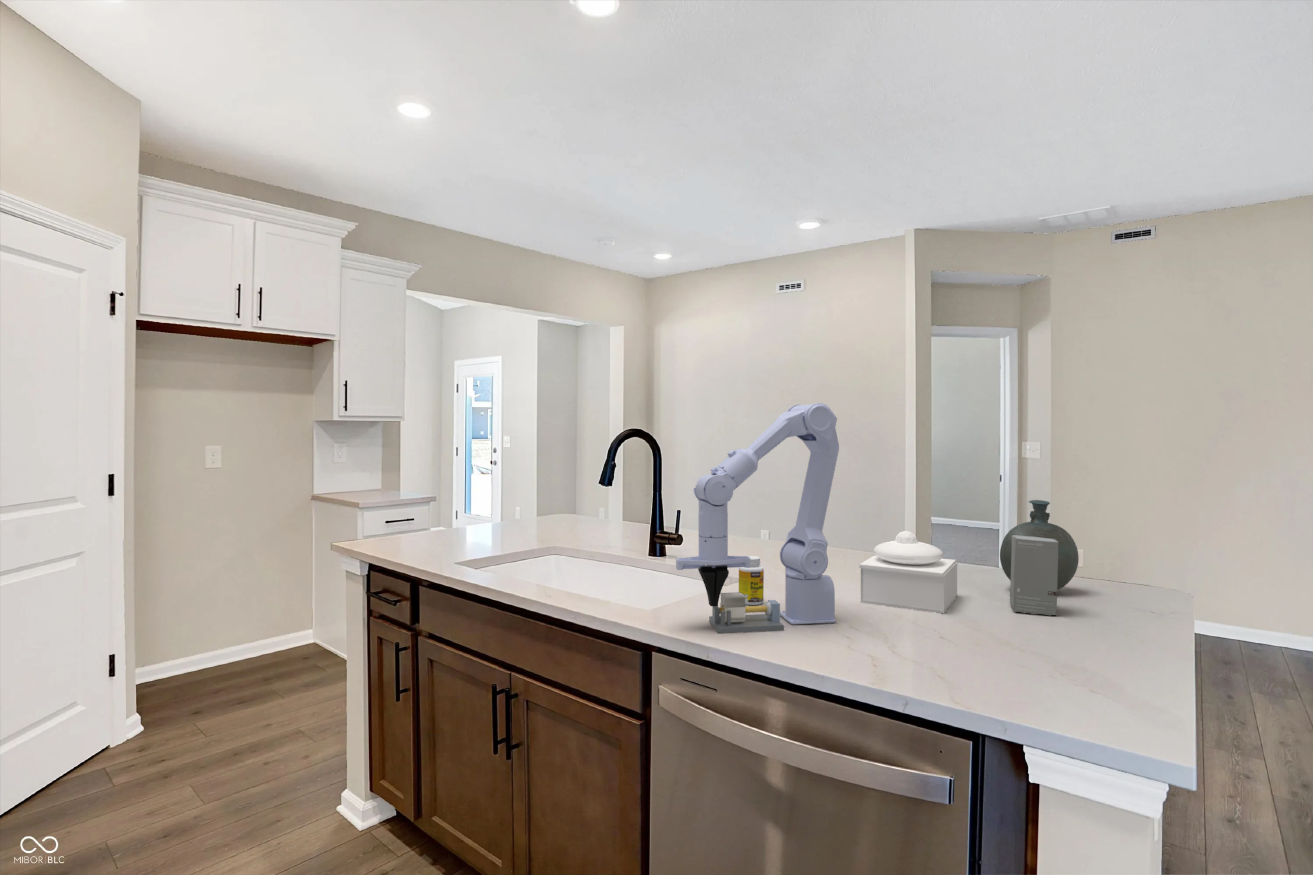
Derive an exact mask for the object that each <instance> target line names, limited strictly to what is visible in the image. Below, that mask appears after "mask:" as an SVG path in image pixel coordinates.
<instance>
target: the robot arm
mask: <svg viewBox="0 0 1313 875" xmlns="http://www.w3.org/2000/svg"><path fill="white" fill-rule="evenodd" d="M837 420H838V418H837V416H836V415H835V413H834V412H833V410H832V409H831V408H830V406H828V405H827V404H825V403H822V402H815V403H811V404H810V403H809V404H794V405H792V406H790V407H789V408H788V409H787V410H786V411H784V412H782V413H781V414H780V415H779V416H778V418H777V419H775V420H774V421H773V423H772V424H770V426H768V427H767V428H766V429H765V430H764V431H763V432H762V433H761V434H760V435H759V436H758V437H757V438H756V439H755V440H754V441H753V442H752V443H751V444H750V445H749V446H748V447H747V448H737V449H732V450H730V451H729V452H727V455H728V456H727V458H725V459H724V460H723V461H722V462H720V463H719V464H718V465H717V466H712V467H711V468H710V472H711V473H710V474H709V473H708V474H703V475H702V476H700V477H699V478H698V479H697V481H696V484H695V487H694V488H693V494H694V496H695V497H696V499H697V500H698V556H689V557H682V558H681V557H678V558H675V568H676V570H677V571H683V570H691V569H692V570H693V569H695V570H696V569H698V570H697V571H698V573H699V576H700V577H701V579H702V581H703V584H704V588H705V591H706V594H707V600H708V605H709V606H711V607H712V606H718V607H719V600H720V598H721V593H722V589H723V587H724V585H725V582H726V581H727V579H728V577H729V574H730V572H729V571H730V570H728V568H729V569H731V568H739V567H745V568H750V558H749V557H748V556H749V555H745V556H742V555H740V556H739V555H729V553H728V552H729V550H728V549H729V544H728V543H729V542H728V541H729V539H728V538H729V536H728V535H729V534H728V531H729V530H728V526H729V525H728V523H729V521H728V520H729V519H728V517H729V516H728V502H730V501H731V499H732V498H733V495H734V491H735V490H736V489H737V488H738V487H740V486H741V485H742V484H743V483H744V482H745V481H747V479H749V478H750V477H751V476H752V475H753V474H754V473H756V471H757V470H758V464H759V461H760V460H761V459H762V458H764V457H765V456H766V455H768V454H769V453H771V451H773V450H774V449H775V448H777V446H779V445H780V444H781V443H782V442H784V441H785V440H786V439H787V438H791V437H796V438H798V439H799V440H801V441H802V442H803V443H804V445H805V446H806V447H807V449H808V450H809V454H810V455H809V458H808V459H809V460H808V464H807V470H806V473H805V479H804V484H803V489H802V493H801V497H800V498H801V499H800V502H799V508H798V513H797V516H796V522H795V526H793V528H791V530H790V531H789V532H788V533H787V535H786V536H787V537H786V539H785V540H786V541H785V542H784V543H783V545H782V546H781V547H780V550H779V559H780V562H781V564H782V565H783V566H784V567H785V568H784V570H785V571H784V572H785V573H784V574H785V586H784V587H785V589H784V590H785V603H784V604H785V610H784V611H782V610H780V617H782V618H783V619H785V621H787V622H788V623H789V624H791V625H804V624H805V625H806V624H828V623H837V619H835V611H836V610H835V607H836V605H835V602H836V600H835V598H836V597H835V585H834V581H833V579H832V577H831V576H830V575H828V574H825V572H826V571H827V568H828V565H829V557H828V553H827V552H828V551H827V550H828V545H829V544H828V540H827V539H826V537H825V535H824V533H823V528H824V525H825V524H824V523H825V520H826V514H827V510H828V506H829V501H830V500H829V499H830V496H831V495H830V494H831V490H832V485H833V479H834V476H835V470H836V465H837V460H838V456H839V451H840V444H839V439H838V435H837V428H836V426H837Z"/></svg>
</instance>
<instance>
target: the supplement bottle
mask: <svg viewBox="0 0 1313 875" xmlns="http://www.w3.org/2000/svg"><path fill="white" fill-rule="evenodd" d="M747 556H748V557H749V558H750V568H745V567H738V592H740V593H742V594H743V595H744V596H745V606H746V605H747V606H760V605H761V604H763V603H764V588H765V587H764V584H765V583H764V579H765V578H764V577H765V576H764V575H765V574H764V573H765V571H764V566H762V565H761V557H759V556H757V555H755V556H754V555H747Z"/></svg>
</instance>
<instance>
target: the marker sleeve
mask: <svg viewBox="0 0 1313 875" xmlns="http://www.w3.org/2000/svg"><path fill="white" fill-rule="evenodd" d="M720 603H721V607H724V611H725V622H727V610H730V611H731V622H745V615H746V613H745V606H746V605H745V596H744V595H743V594H742V593H740V592H739V591H738V592H737V591H736V592H721V593H720Z"/></svg>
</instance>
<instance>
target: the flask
mask: <svg viewBox="0 0 1313 875" xmlns="http://www.w3.org/2000/svg"><path fill="white" fill-rule="evenodd" d="M1028 503H1029V504H1032V505H1031V506H1032V509H1033V510H1031V511H1030V513H1029V517H1030V521H1027V522H1023V523H1019V524H1017V525H1015V526H1014V527H1013V528H1011V529H1010V530H1009V531H1008V532H1007V533H1006V535H1005V536H1004V538H1003V540H1002V543H1001V545H1000V549H999V557H1000V558H999V561H1000V564H1001V568H1002V571H1003V573H1004V574H1005V576H1006V577H1007V578H1008V580H1009V581H1010V582H1011V555H1012V535H1017V536H1029V537H1039V538H1050V539H1054V540H1056V541H1058V542H1059V545H1058V583H1057V591H1058V590H1060V589H1062V588H1064V587H1065V586H1067V585H1068V584H1069V583H1070V581H1072V579H1073V578H1074V576H1075V574H1076V572H1077V570H1078V566H1079V551H1078V548H1077V543H1076V541H1075V540H1074V538H1073V537H1072V535H1071V534H1070V533H1069V532H1068V531H1067V530H1066V529H1064V528H1063V527H1061V526H1059V525H1057V524H1054V523H1051V522H1049V519H1050V517H1051V516H1050V515H1051V514H1050V512H1047V510H1048V507H1049V505H1050V504H1051V502H1049V501H1047V500H1042V499H1032V500H1028Z"/></svg>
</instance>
